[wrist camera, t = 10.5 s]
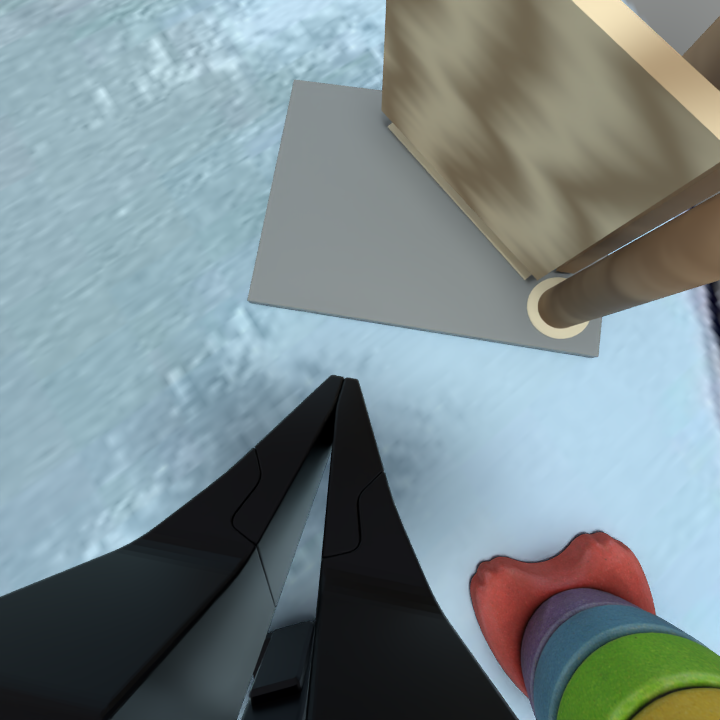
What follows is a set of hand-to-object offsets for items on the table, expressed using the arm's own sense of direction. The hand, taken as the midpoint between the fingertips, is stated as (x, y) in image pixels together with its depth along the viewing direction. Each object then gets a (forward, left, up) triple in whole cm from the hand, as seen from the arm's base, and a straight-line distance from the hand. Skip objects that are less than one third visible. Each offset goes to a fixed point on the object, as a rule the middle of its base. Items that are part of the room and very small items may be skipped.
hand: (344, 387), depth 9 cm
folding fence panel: (+12, -11, -10) cm, 19 cm away
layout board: (+11, -9, -12) cm, 19 cm away
